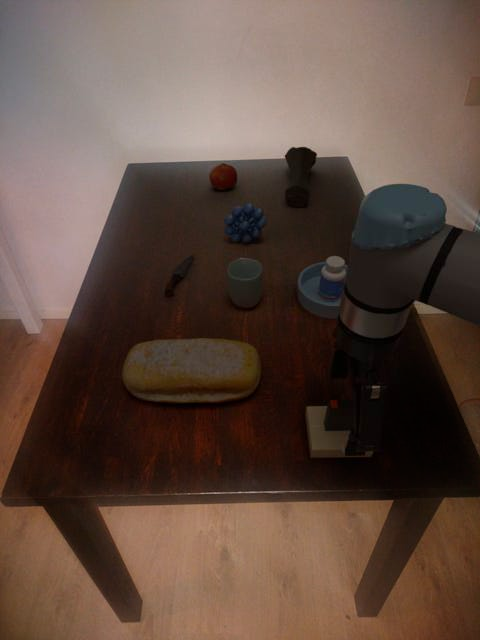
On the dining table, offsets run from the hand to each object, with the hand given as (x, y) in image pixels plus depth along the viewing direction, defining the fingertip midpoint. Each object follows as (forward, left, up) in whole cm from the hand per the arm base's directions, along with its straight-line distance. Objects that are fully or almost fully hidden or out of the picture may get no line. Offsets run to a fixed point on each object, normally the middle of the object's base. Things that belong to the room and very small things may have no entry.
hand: (345, 412), depth 60 cm
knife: (+53, -16, -8) cm, 56 cm away
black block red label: (0, 0, -5) cm, 5 cm away
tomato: (+73, -59, -8) cm, 94 cm away
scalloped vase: (+52, -73, -8) cm, 90 cm away
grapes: (+48, -38, -8) cm, 62 cm away
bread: (+28, +6, -8) cm, 30 cm away
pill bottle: (+18, -31, -8) cm, 37 cm away
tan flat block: (0, 0, -8) cm, 8 cm away
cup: (+33, -18, -8) cm, 39 cm away
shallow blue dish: (+18, -31, -8) cm, 37 cm away
